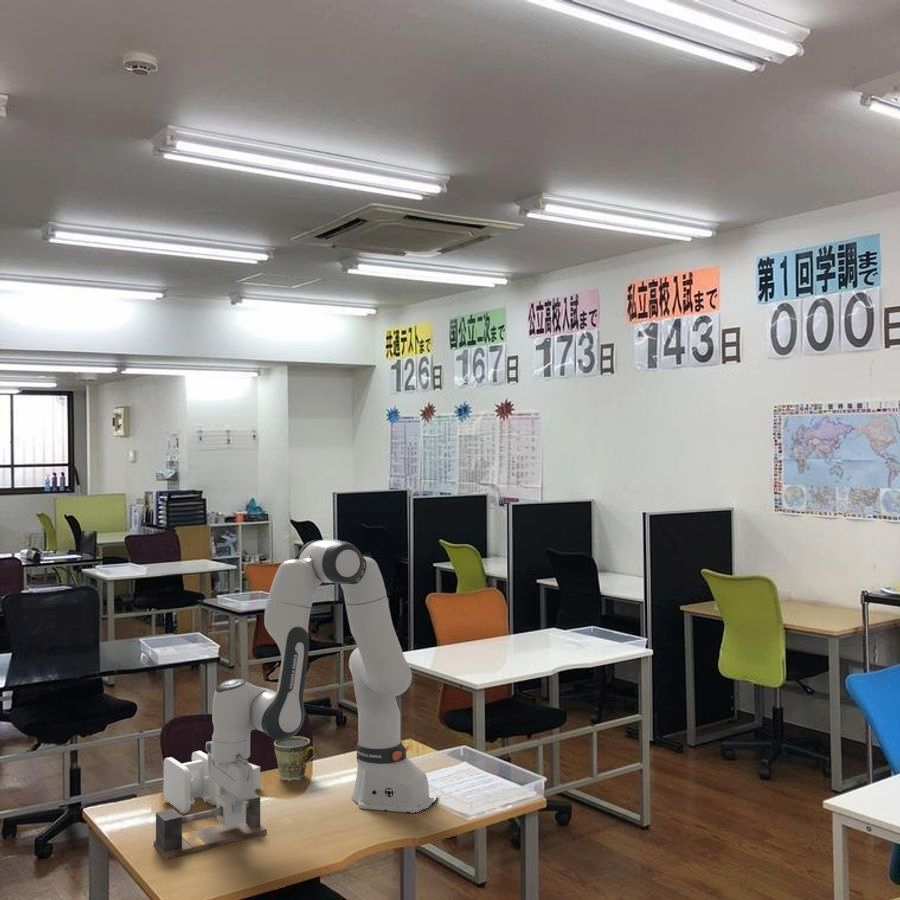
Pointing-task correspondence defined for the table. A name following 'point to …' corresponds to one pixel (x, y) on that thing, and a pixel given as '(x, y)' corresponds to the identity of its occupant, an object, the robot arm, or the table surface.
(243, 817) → the white cube
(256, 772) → the light gray cube
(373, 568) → the robot arm
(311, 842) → the table surface
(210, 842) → the rail
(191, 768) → the cable organizer
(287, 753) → the ceramic cup
